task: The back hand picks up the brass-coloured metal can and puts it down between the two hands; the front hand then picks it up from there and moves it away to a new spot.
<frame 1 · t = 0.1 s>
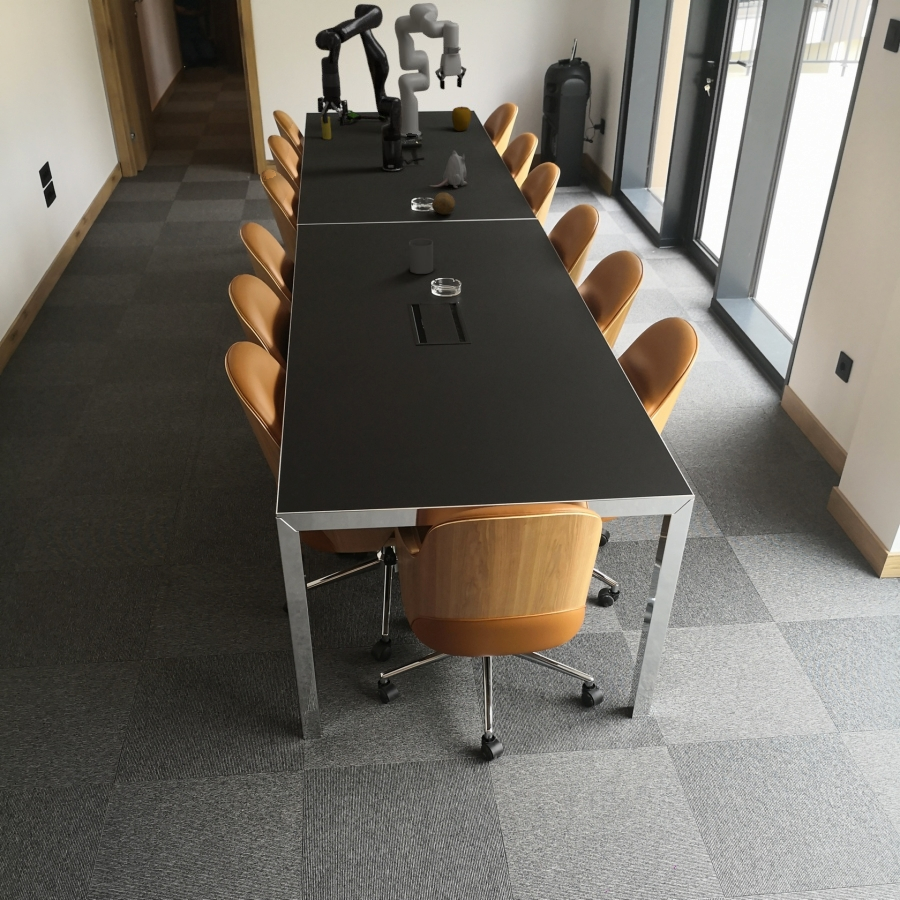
front hand: (333, 124, 373), 29 cm above the table, tool pointing down, fingers open, 8 cm apart
back hand: (450, 88, 433), 31 cm above the table, tool pointing down, fingers open, 9 cm apart
yellow rounded blob: (461, 130, 491), on the table
can: (327, 138, 475), on the table
potato: (443, 213, 363), on the table
toy: (447, 188, 394), on the table
scepter: (363, 122, 509), on the table
cup: (421, 270, 308), on the table
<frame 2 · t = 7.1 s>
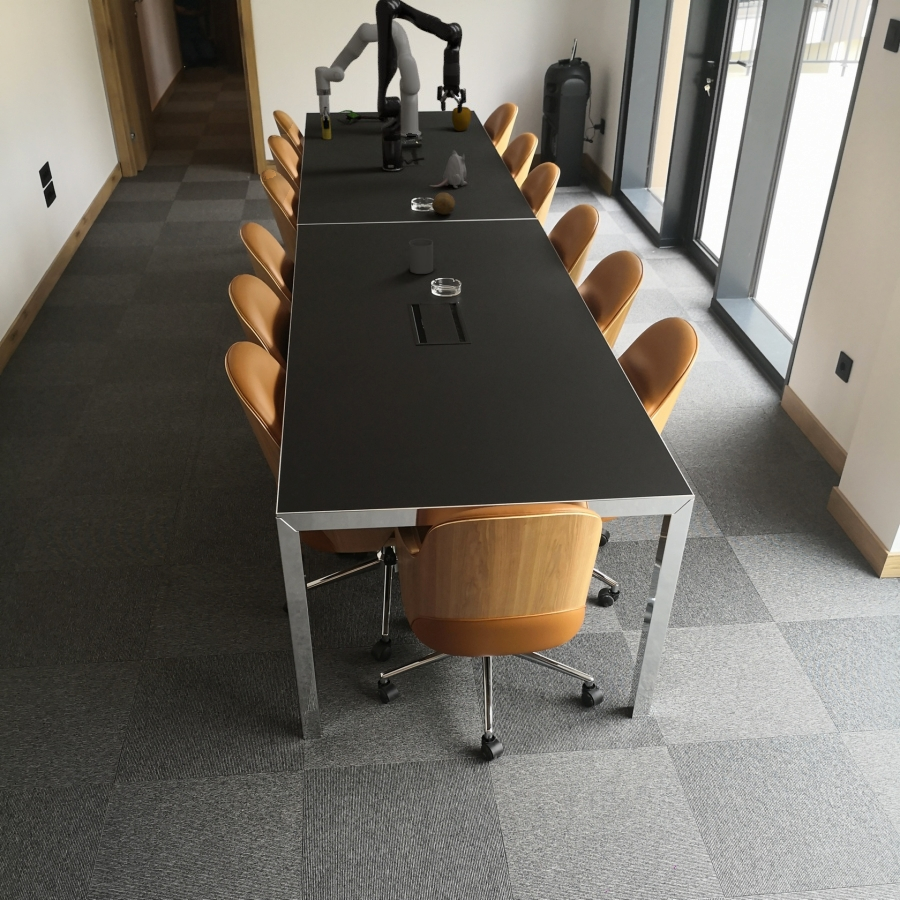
front hand: (451, 112, 390), 30 cm above the table, tool pointing down, fingers open, 8 cm apart
back hand: (326, 127, 472), 6 cm above the table, tool pointing down, fingers closed on can, 4 cm apart
can: (327, 138, 475), on the table, touching back hand
everything else where it was.
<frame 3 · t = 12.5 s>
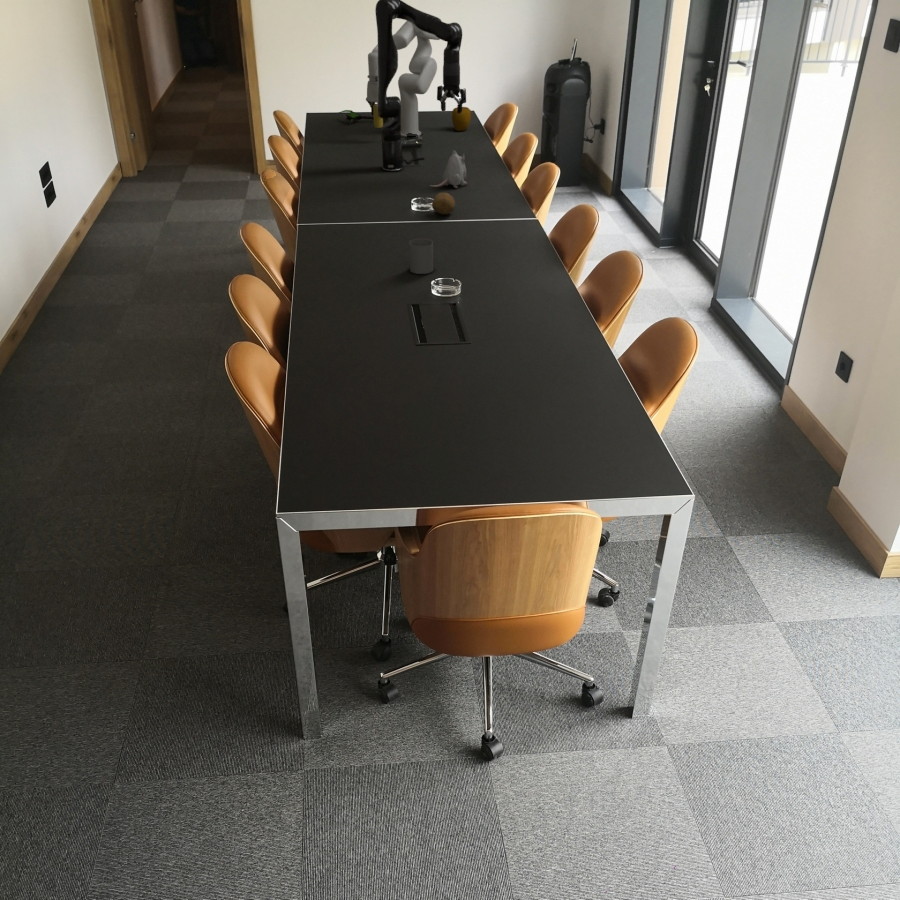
front hand: (451, 112, 390), 30 cm above the table, tool pointing down, fingers open, 8 cm apart
back hand: (378, 115, 458), 14 cm above the table, tool pointing down, fingers closed on can, 4 cm apart
can: (378, 126, 461), point 9 cm above the table, touching back hand
everything else where it was.
when the back hand's fingers open (8 cm above the table, at t = 18.4 s): can drops 2 cm, on the table.
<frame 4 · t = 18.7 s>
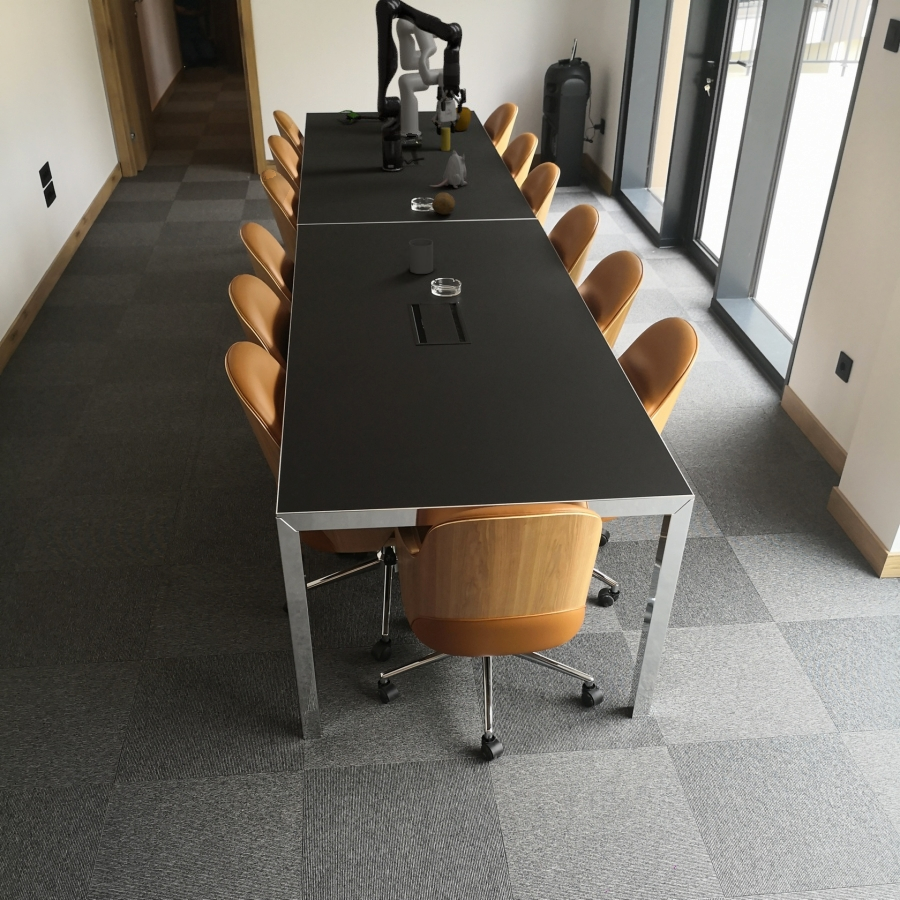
front hand: (451, 112, 390), 30 cm above the table, tool pointing down, fingers open, 8 cm apart
back hand: (445, 133, 449), 8 cm above the table, tool pointing down, fingers open, 7 cm apart
can: (445, 150, 454), on the table
everything else where it was.
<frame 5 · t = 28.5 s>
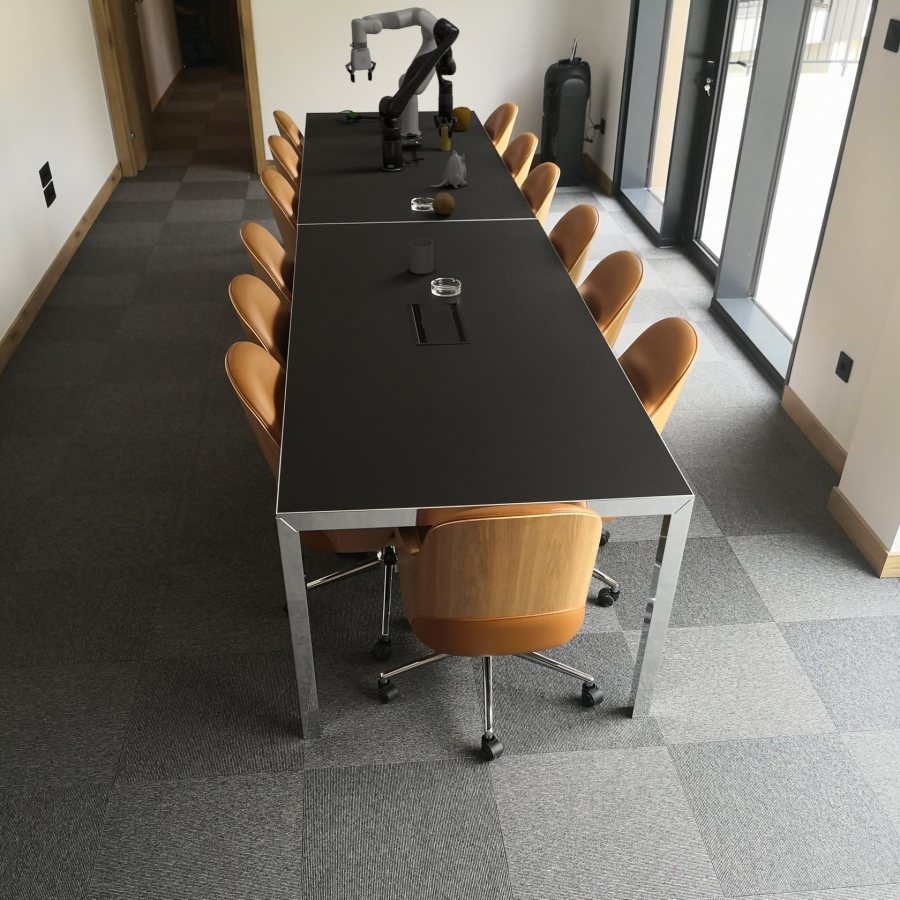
front hand: (445, 137, 450), 7 cm above the table, tool pointing down, fingers closed on can, 5 cm apart
back hand: (361, 81, 453), 30 cm above the table, tool pointing down, fingers open, 9 cm apart
can: (445, 150, 454), on the table, touching front hand
everything else where it was.
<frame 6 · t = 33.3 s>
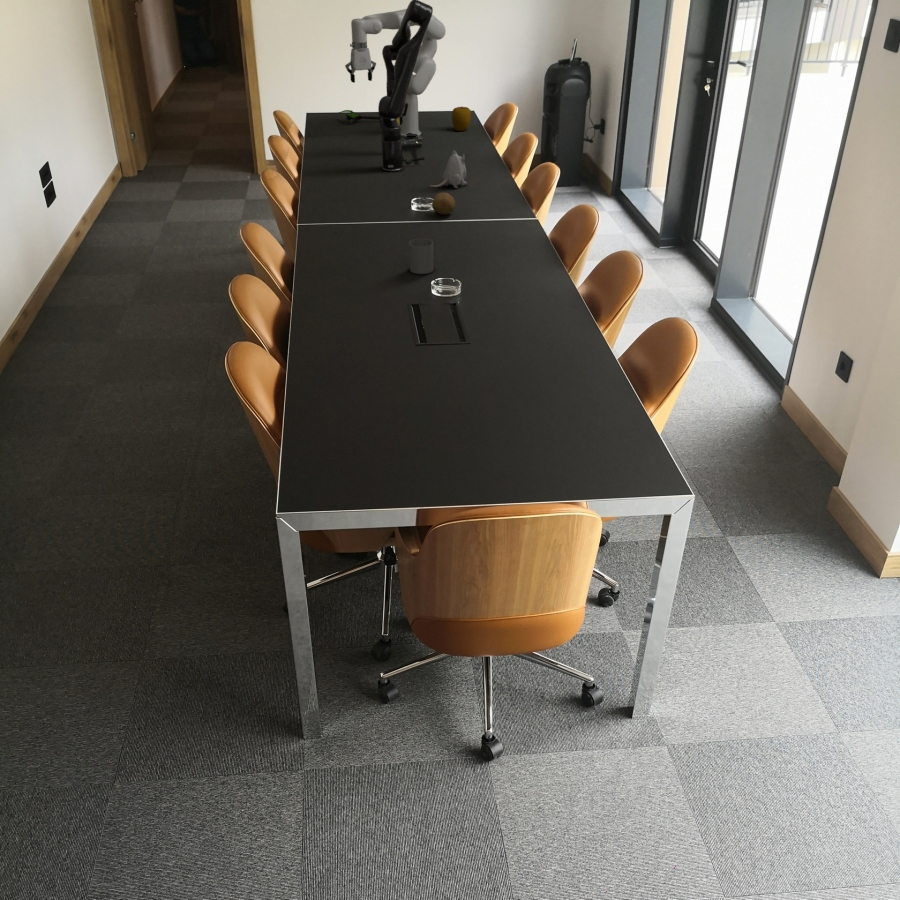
front hand: (395, 124, 438), 15 cm above the table, tool pointing down, fingers closed on can, 5 cm apart
back hand: (361, 81, 453), 30 cm above the table, tool pointing down, fingers open, 9 cm apart
can: (395, 137, 442), point 8 cm above the table, touching front hand
everything else where it was.
when the front hand's fingers open (8 cm above the table, at t = 38.5 s): can drops 2 cm, on the table.
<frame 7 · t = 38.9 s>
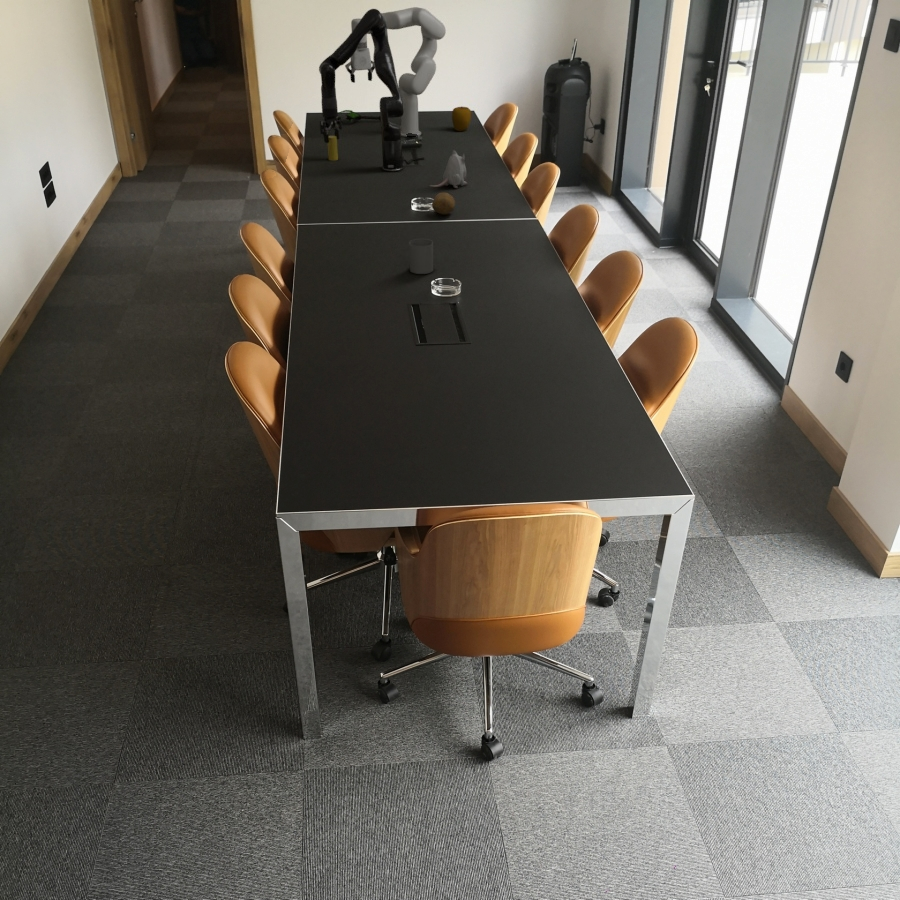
front hand: (331, 140, 432), 9 cm above the table, tool pointing down, fingers open, 8 cm apart
back hand: (361, 81, 453), 30 cm above the table, tool pointing down, fingers open, 9 cm apart
can: (333, 159, 437), on the table
everything else where it was.
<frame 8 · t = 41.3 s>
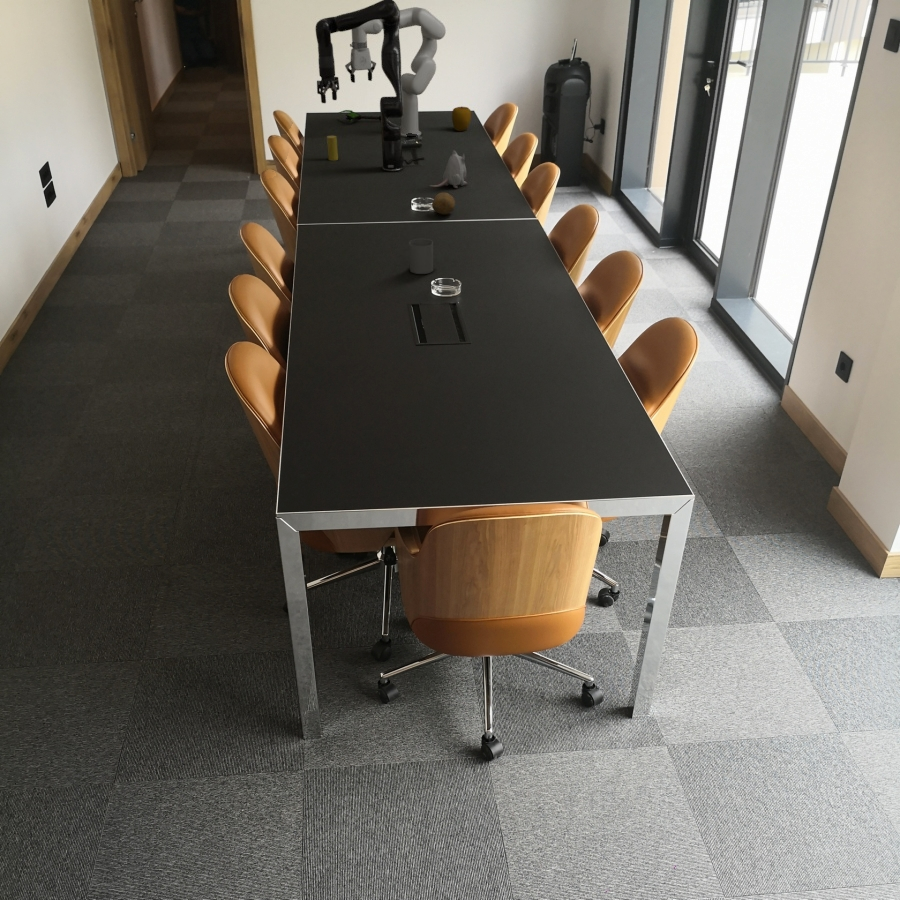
front hand: (329, 101, 422), 28 cm above the table, tool pointing down, fingers open, 8 cm apart
back hand: (361, 81, 453), 30 cm above the table, tool pointing down, fingers open, 9 cm apart
nothing on the table moved.
at the end: can inside the target area (0.1 cm from its centre), on the table; can tilted 0°; the two hands never held the can at the same time; the front hand is holding nothing; the back hand is holding nothing; can at rest at the end (0.0 cm/s) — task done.
